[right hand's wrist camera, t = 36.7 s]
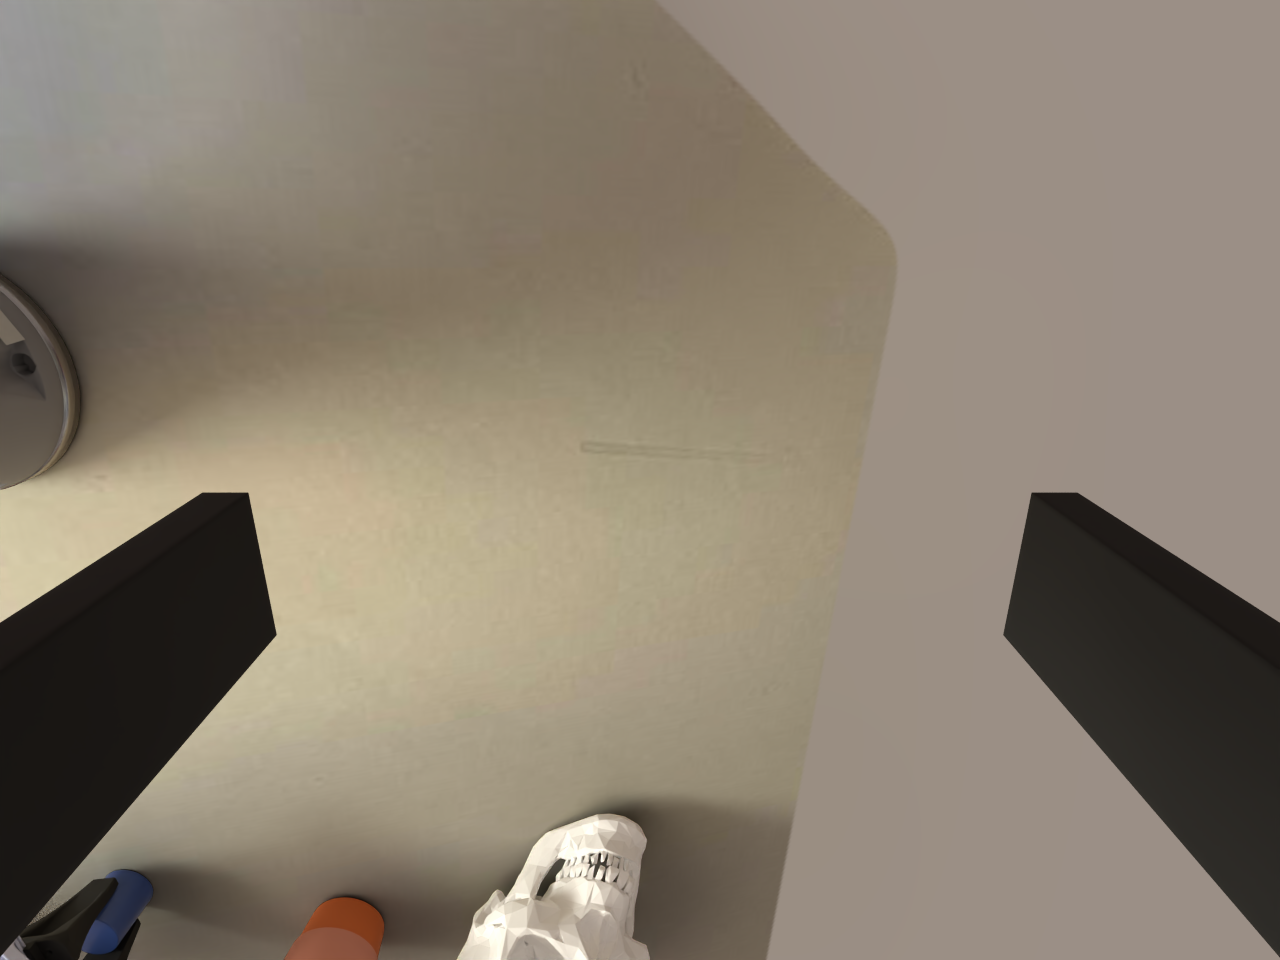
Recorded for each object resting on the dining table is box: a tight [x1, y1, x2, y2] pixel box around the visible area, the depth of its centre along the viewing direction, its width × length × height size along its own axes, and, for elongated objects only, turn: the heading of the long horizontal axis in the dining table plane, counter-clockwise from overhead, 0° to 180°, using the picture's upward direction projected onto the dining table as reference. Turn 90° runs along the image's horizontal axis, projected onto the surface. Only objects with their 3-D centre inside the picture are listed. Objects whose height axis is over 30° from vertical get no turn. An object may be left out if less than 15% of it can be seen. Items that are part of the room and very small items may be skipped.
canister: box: [81, 870, 153, 954], centre depth 60 cm, size 4×4×4 cm
